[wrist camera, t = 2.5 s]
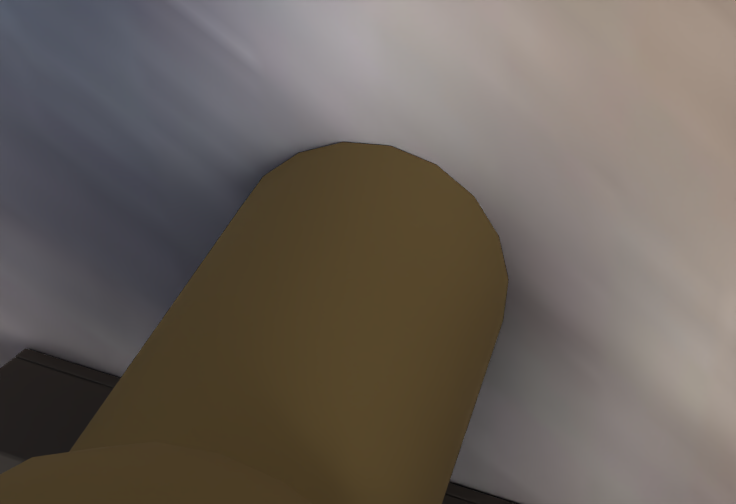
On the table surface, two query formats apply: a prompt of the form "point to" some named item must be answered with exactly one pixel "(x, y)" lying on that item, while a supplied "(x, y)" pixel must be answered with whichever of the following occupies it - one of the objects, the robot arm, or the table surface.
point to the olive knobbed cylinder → (305, 350)
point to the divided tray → (79, 412)
